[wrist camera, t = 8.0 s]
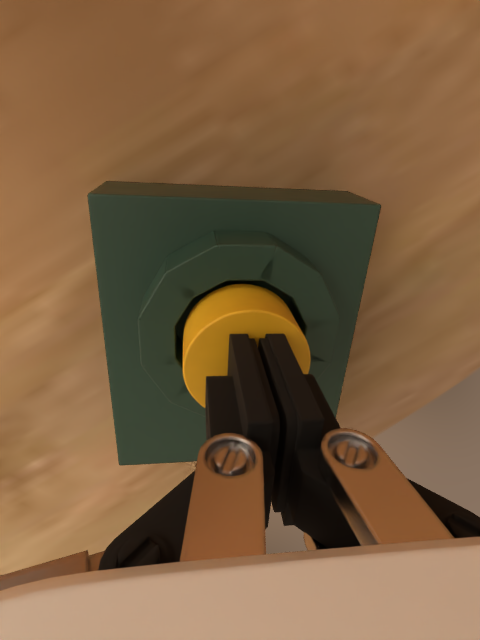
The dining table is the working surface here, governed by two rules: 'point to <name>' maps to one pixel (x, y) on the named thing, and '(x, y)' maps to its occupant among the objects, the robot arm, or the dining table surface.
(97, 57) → the dining table surface
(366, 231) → the button block
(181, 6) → the dining table surface
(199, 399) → the yellow push button
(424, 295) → the dining table surface
